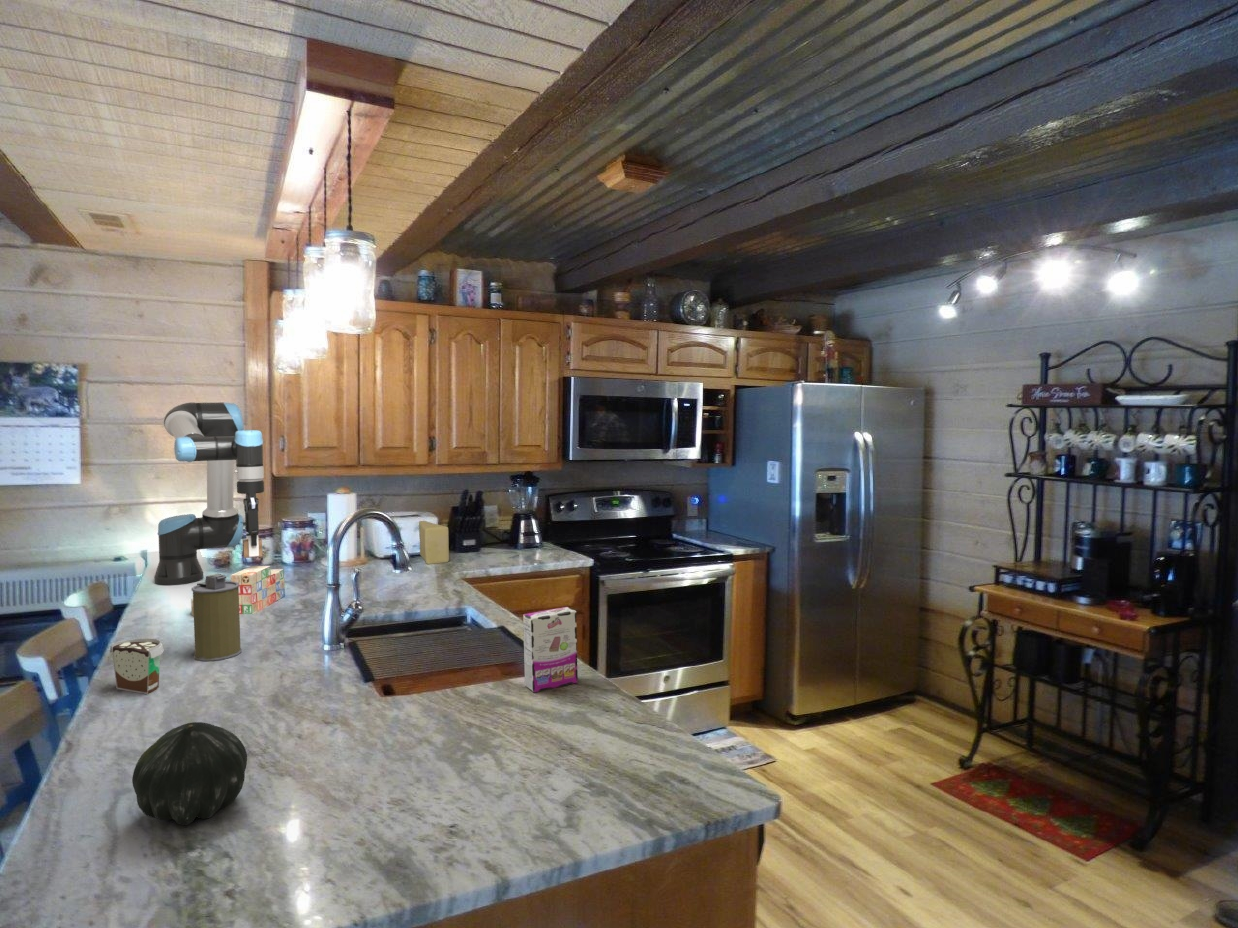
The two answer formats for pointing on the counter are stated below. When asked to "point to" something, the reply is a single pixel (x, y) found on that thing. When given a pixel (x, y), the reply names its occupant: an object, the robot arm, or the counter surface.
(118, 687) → the food container
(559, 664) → the candy bar box
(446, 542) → the cheese
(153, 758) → the squash
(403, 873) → the counter surface
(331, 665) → the counter surface
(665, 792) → the counter surface
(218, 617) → the canister
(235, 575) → the stack of blocks
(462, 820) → the counter surface
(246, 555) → the walnut cube
